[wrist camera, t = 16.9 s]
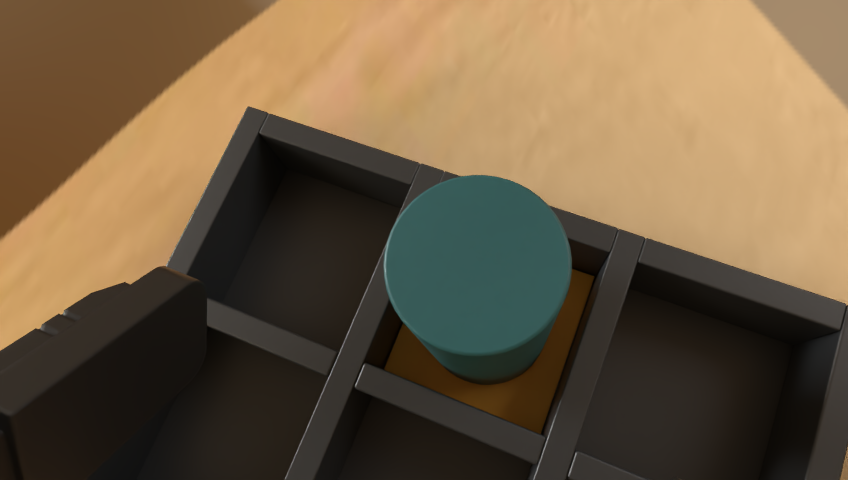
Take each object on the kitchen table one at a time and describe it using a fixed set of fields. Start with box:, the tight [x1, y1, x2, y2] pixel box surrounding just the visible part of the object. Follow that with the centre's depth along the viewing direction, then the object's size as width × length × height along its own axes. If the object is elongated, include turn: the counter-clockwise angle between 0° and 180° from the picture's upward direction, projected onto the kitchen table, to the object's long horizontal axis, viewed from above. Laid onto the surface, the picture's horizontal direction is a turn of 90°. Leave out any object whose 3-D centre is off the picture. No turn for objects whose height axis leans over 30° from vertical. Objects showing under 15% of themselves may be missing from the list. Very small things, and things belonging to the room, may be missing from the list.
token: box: [383, 175, 572, 385], centre depth 17 cm, size 4×4×8 cm
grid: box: [87, 106, 848, 480], centre depth 19 cm, size 20×13×4 cm
